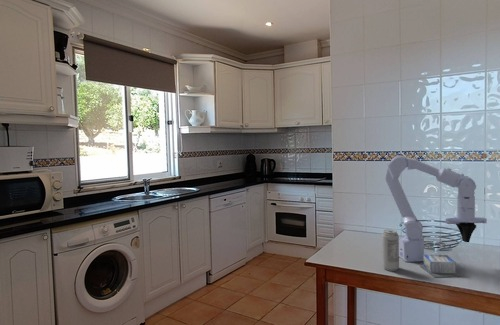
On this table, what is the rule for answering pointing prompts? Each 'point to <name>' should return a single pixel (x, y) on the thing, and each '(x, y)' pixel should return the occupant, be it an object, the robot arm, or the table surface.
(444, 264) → the medicine box
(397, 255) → the energy drink can
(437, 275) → the mat
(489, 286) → the table surface
